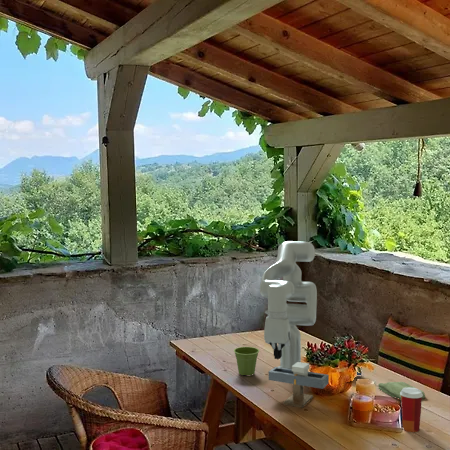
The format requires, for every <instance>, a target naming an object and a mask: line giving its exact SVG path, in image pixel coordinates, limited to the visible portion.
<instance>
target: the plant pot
mask: <svg viewBox="0 0 450 450" xmlns="http://www.w3.org/2000/svg"><path fill="white" fill-rule="evenodd" d="M233 352H234V355H235V358H236V364H237V371H238V375H239V374H241V375H252V374H254V375H255V372H256V367H257V359H258V355H259V352H260V349H259V348H257V347H253V346H240V347H236V348H234V349H233ZM241 375H240V376H241ZM252 376H253V375H252Z"/></svg>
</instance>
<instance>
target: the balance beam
mask: <svg viewBox="0 0 450 450" xmlns="http://www.w3.org/2000/svg"><path fill="white" fill-rule="evenodd" d="M329 377H330V376H329V374H326V373H325V374H324V373H320V372H313V371H308V376H303V375H298V374H293V371H292V369H287V368H281V367H278V366H275V367H272V368H271V369H270V370H269V371H268V381H272V382H278V383H285V384H289V385H290V384H292V394H291V395H290V396H289V397H288V398H286V399H285V400H284V401H283V405H284V404H285V405H286V406H289V405H290V406H289V407H296V408H301V409H302V408H304V407H306V405H307V404H308V403H309V402H310V401H311V400H312V399H313V398H314V395H313V394H306V393H305V392H304V390H305V389H304V387H309V388H310V387H311V388H315V389H322V390H323V389H325V388H326V387H327V385H328V384H329V383H330V381H329V379H330V378H329Z"/></svg>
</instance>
